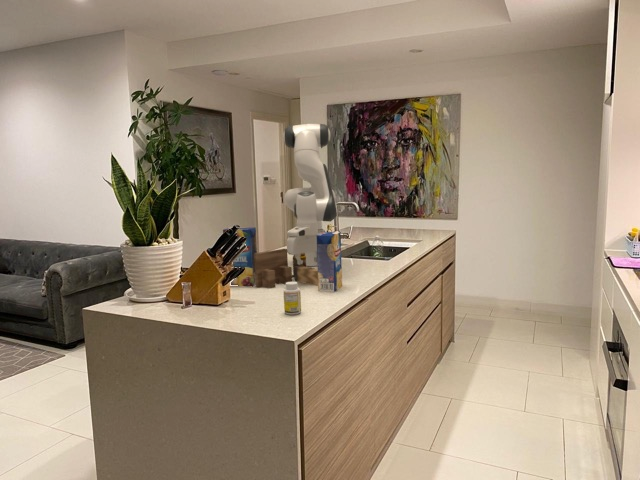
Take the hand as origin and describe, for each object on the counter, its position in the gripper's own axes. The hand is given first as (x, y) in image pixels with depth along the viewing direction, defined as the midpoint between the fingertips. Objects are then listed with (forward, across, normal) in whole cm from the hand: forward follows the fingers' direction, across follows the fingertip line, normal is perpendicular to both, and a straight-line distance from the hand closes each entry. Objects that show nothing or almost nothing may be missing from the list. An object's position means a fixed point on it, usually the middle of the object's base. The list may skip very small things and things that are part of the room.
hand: (308, 263), depth 208 cm
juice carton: (+9, +20, -20) cm, 30 cm away
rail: (+8, 0, 0) cm, 8 cm away
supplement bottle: (+10, +34, +30) cm, 47 cm away
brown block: (+8, +12, -9) cm, 17 cm away
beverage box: (+9, +2, +15) cm, 17 cm away
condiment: (+8, -6, -14) cm, 17 cm away
